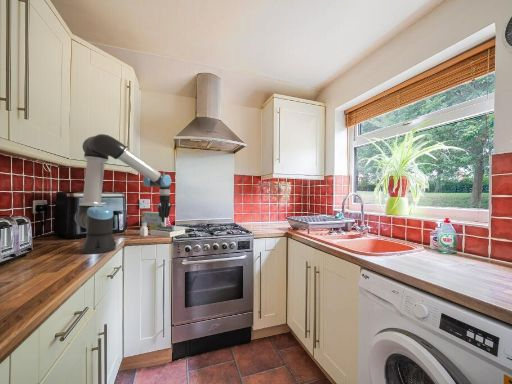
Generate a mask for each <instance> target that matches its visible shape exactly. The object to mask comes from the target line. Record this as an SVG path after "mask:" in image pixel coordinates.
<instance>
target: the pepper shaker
mask: <svg viewBox="0 0 512 384" xmlns="http://www.w3.org/2000/svg"><path fill="white" fill-rule="evenodd" d="M139 230H140V231H139V235H140V237H147V236H149V230H148V227H147V223H142V227H140V229H139Z"/></svg>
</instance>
